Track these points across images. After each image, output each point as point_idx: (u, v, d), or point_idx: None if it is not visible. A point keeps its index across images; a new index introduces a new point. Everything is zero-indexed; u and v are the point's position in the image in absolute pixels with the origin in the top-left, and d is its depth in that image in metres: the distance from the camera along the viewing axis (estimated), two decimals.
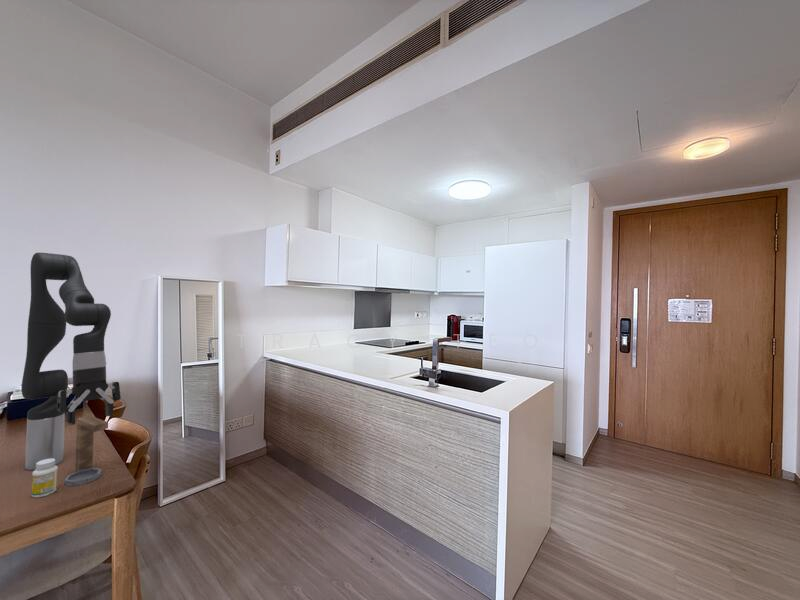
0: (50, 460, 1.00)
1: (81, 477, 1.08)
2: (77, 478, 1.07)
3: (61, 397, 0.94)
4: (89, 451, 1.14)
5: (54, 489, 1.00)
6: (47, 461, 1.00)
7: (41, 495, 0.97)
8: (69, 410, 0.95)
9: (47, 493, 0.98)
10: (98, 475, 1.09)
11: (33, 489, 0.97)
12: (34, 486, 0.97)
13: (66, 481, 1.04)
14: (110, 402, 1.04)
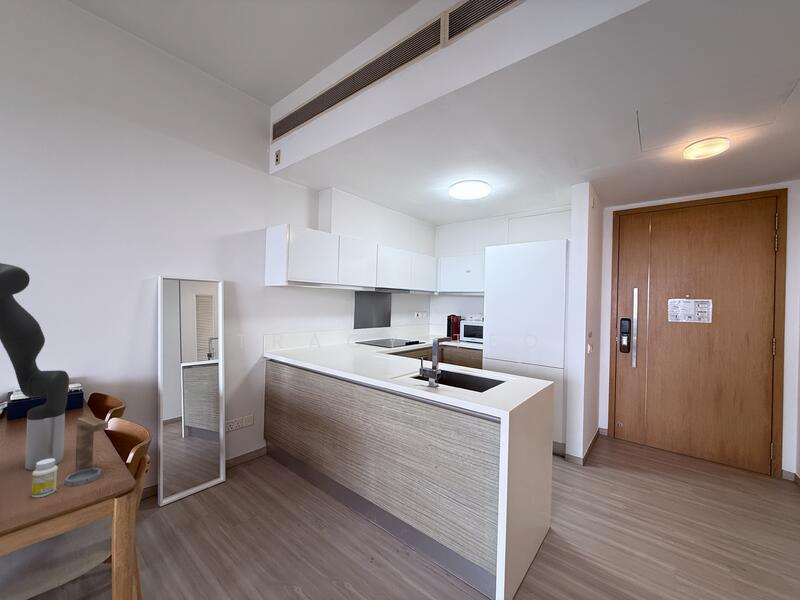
0: (50, 460, 1.00)
1: (81, 477, 1.08)
2: (77, 478, 1.07)
3: None
4: (89, 451, 1.14)
5: (54, 489, 1.00)
6: (47, 461, 1.00)
7: (41, 495, 0.97)
8: None
9: (47, 493, 0.98)
10: (98, 475, 1.09)
11: (33, 489, 0.97)
12: (34, 486, 0.97)
13: (66, 481, 1.04)
14: None
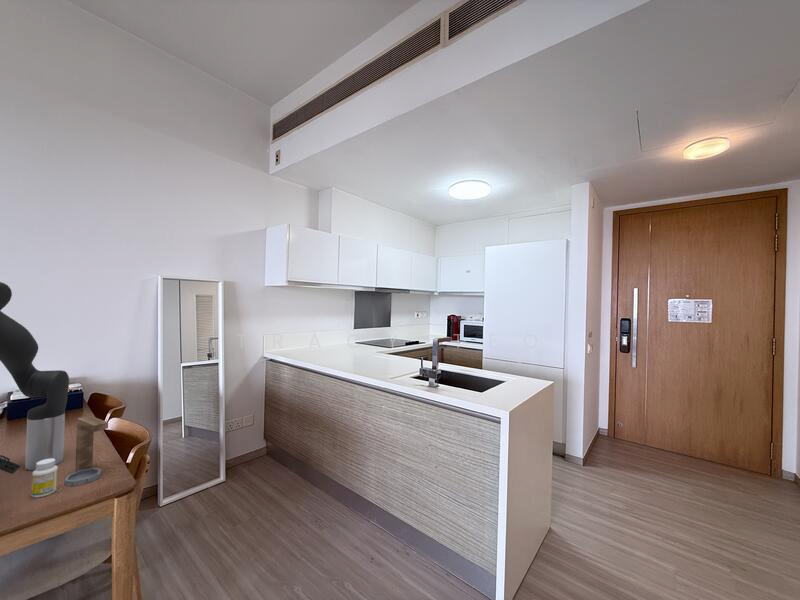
0: (50, 460, 1.00)
1: (81, 477, 1.08)
2: (77, 478, 1.07)
3: None
4: (89, 451, 1.14)
5: (54, 489, 1.00)
6: (47, 461, 1.00)
7: (41, 495, 0.97)
8: None
9: (47, 493, 0.98)
10: (98, 475, 1.09)
11: (33, 489, 0.97)
12: (34, 486, 0.97)
13: (66, 481, 1.04)
14: None
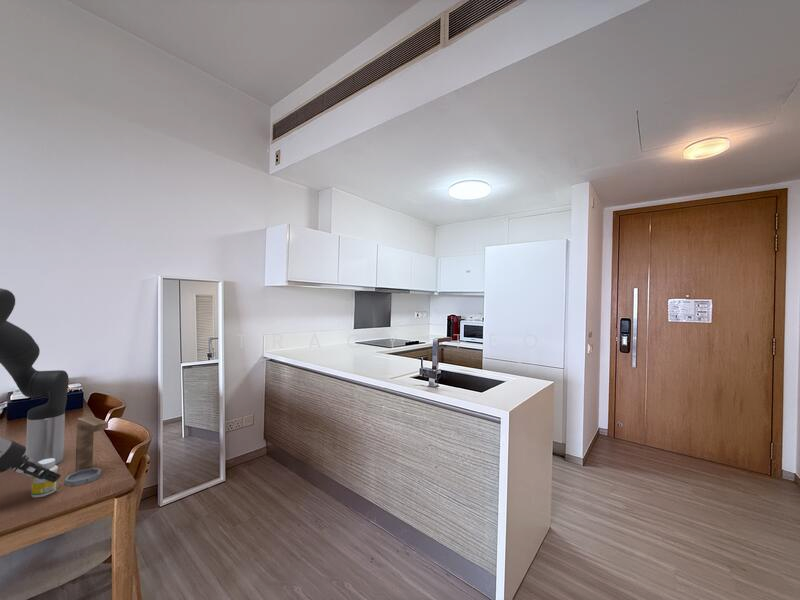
0: (50, 460, 1.00)
1: (81, 477, 1.08)
2: (77, 478, 1.07)
3: None
4: (89, 451, 1.14)
5: (54, 489, 1.00)
6: (47, 461, 1.00)
7: (41, 495, 0.97)
8: None
9: (47, 493, 0.98)
10: (98, 475, 1.09)
11: (33, 489, 0.97)
12: (34, 486, 0.97)
13: (66, 481, 1.04)
14: None
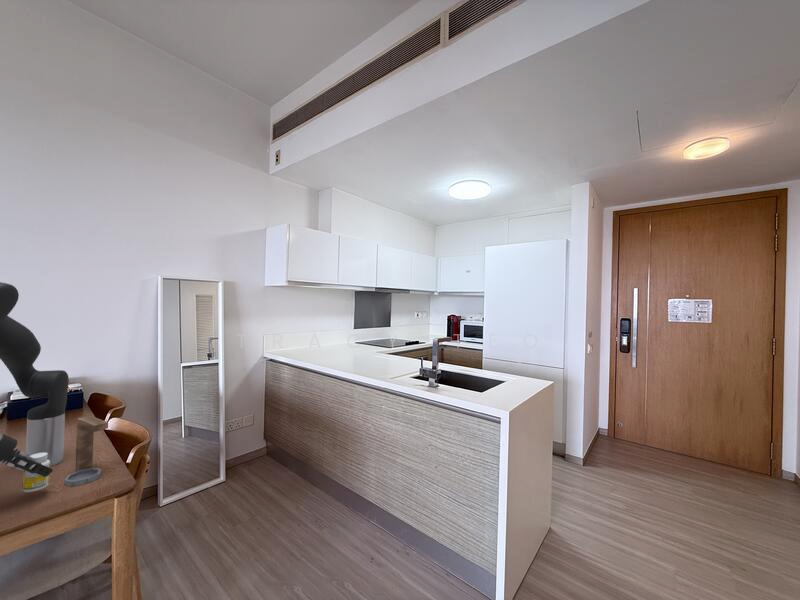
0: (42, 454, 0.99)
1: (81, 477, 1.08)
2: (77, 478, 1.07)
3: None
4: (89, 451, 1.14)
5: (46, 483, 0.98)
6: (39, 455, 0.98)
7: (32, 489, 0.96)
8: None
9: (39, 488, 0.97)
10: (98, 475, 1.09)
11: (24, 483, 0.95)
12: (25, 480, 0.95)
13: (66, 481, 1.04)
14: None
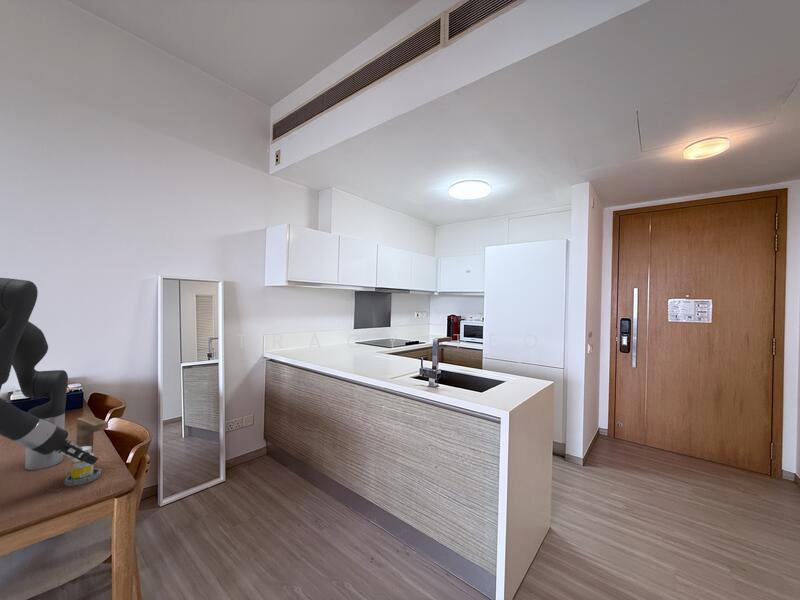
0: (87, 447, 1.08)
1: None
2: None
3: None
4: None
5: (91, 474, 1.08)
6: (85, 448, 1.08)
7: None
8: None
9: None
10: (98, 475, 1.09)
11: (73, 474, 1.05)
12: (73, 471, 1.05)
13: (66, 481, 1.04)
14: None
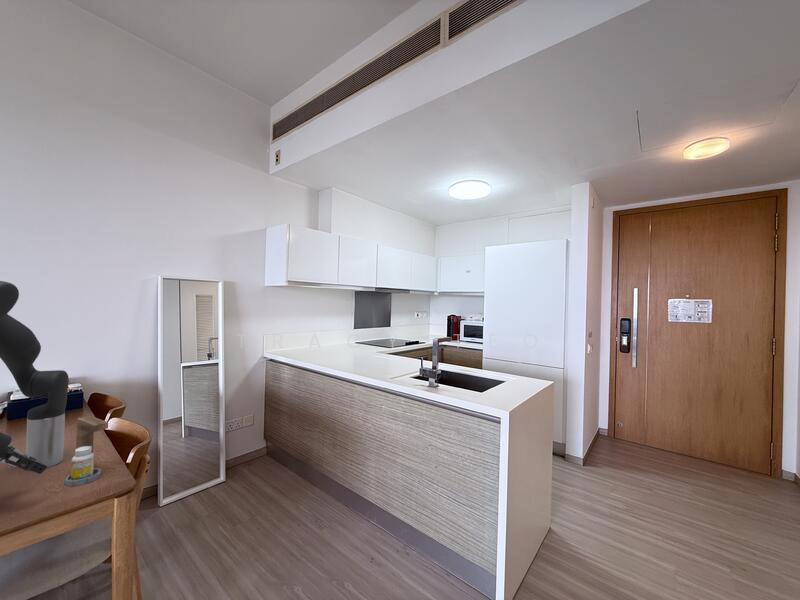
0: (87, 447, 1.08)
1: None
2: None
3: None
4: None
5: (91, 474, 1.08)
6: (85, 448, 1.08)
7: None
8: None
9: None
10: (98, 475, 1.09)
11: (73, 474, 1.05)
12: (73, 471, 1.05)
13: (66, 481, 1.04)
14: None
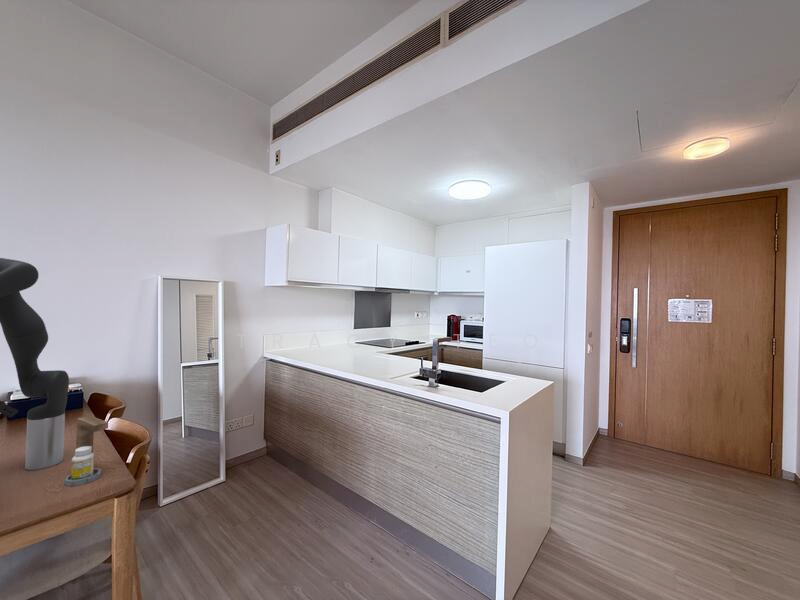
0: (87, 447, 1.08)
1: None
2: None
3: None
4: None
5: (91, 474, 1.08)
6: (85, 448, 1.08)
7: None
8: None
9: None
10: (98, 475, 1.09)
11: (73, 474, 1.05)
12: (73, 471, 1.05)
13: (66, 481, 1.04)
14: None
